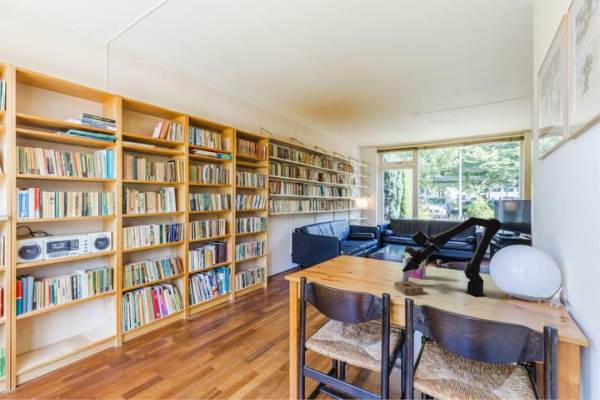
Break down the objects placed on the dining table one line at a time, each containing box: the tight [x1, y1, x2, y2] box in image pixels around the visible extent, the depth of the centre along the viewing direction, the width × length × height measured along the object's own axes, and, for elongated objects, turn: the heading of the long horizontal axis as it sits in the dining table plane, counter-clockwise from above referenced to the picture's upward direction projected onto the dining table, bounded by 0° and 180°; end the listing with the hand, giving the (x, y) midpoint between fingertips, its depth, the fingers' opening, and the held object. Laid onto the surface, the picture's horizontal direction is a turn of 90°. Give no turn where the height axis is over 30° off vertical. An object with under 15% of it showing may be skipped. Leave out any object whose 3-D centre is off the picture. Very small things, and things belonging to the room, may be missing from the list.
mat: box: [395, 280, 422, 287], centre depth 155 cm, size 10×10×1 cm
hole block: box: [393, 281, 424, 296], centre depth 143 cm, size 10×10×4 cm
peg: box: [402, 257, 410, 282], centre depth 154 cm, size 3×3×13 cm
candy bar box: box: [404, 252, 427, 280], centre depth 168 cm, size 11×5×16 cm, turn 47°
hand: (402, 270), depth 154 cm, fingers closed on peg, 3 cm apart
